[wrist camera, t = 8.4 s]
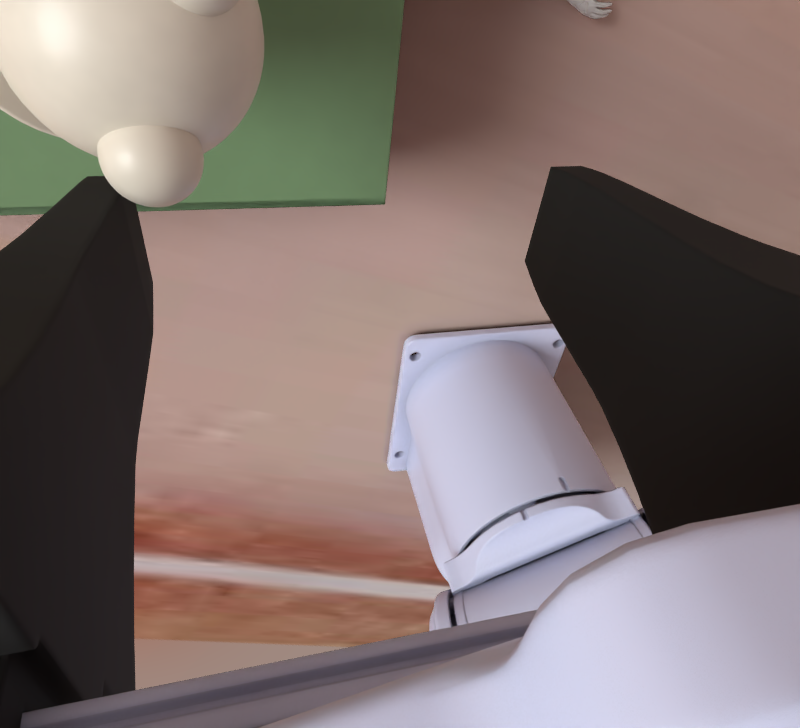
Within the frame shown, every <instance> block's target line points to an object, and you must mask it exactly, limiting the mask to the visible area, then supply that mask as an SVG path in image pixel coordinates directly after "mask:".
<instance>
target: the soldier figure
mask: <svg viewBox="0 0 800 728" xmlns="http://www.w3.org/2000/svg"><path fill="white" fill-rule="evenodd" d="M567 1H568V2H569V3H570V4H571V5H573V6H574V7H576V9H577V10H578V11H579V12H580V13H581V14H582V15H586V16H587V17H590V18H592V19H598V18H602V17H606V16H608V13H610V12H611V11H612V10H611V9H600V8H604V7H608V6H611V5H612V3H611V2H598V1H597V0H567ZM598 7H600V8H598Z"/></svg>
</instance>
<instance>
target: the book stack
mask: <svg viewBox="0 0 800 728" xmlns="http://www.w3.org/2000/svg"><path fill="white" fill-rule="evenodd" d="M258 4H259V8H260V12H261V17H262V24H263V32H264V61H263V69H262V74H261V79H260V83H259V86H258V89H257V92H256V95H255V97H254V99H253V101H252V104H251V106H250V108H249V109H248V111H247V113H246V114H245V116H244V118H243V119H242V121H241V122H240V123H239V124H238V126H237V127H236V128H235V129H234V130H233V131H232V132H231V133H230V134H229V135H228V136H227V137H226V139H224V140H223V141H222V142H220V143H219V144H218V145H217V146H215V147H214V148H212V149H211V150H209V151H207V152H206V153H204V168H203V173H202V176H201V179H200V181H199V183H198V185H197V187H196V188H195V189H194V191H193V192H192V193H191V194H190V195H189V196H188V197H187V198H185V199H184V200H182V201H180V202H178V203H176V204H174V205H171V206H166V207H147V206H143V205H139V204H136V207H137V211H171V210H206V209H241V208H275V207H310V206H345V205H380V204H385V198H386V188H387V177H388V167H389V157H390V146H391V136H392V125H393V115H394V104H395V94H396V84H397V73H398V63H399V52H400V42H401V32H402V21H403V11H404V0H258ZM87 176H104V174H103V172H102V170H101V167H100V164H99V160H98V157H96V156H94V155H91V154H89V153H87V152H85V151H83V150H81V149H79V148H77V147H75V146H73V145H72V144H70V143H68V142H67V141H65V140H64V139H62V138H60V137H56V136H53V135H50V134H47V133H44V132H42V131H39V130H37V129H34V128H32V127H30V126H28V125H26V124H24V123H22V122H20V121H18V120H17V119H15V118H13V117H12V116H10V115H8V114H7V113H5V112H4V111H2V110H1V109H0V215H32V214H45V213H46V212H47V211H49V210H50V209H51V208H52V207H53V206H54V205H55V204H56V203H57V202H59V201H60V200H61V199H62V198H63V197H64V196H65V195H66V194H67V193H68V192H69V191H70V190H72V189H73V188H74V187H75V186H76V185H77V184H78V183H79V182H81V181H82V180H83V179H84V178H86V177H87Z"/></svg>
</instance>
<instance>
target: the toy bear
mask: <svg viewBox="0 0 800 728" xmlns="http://www.w3.org/2000/svg"><path fill="white" fill-rule="evenodd" d="M263 61H264V32H263V24H262V17H261V12H260V8H259V4H258V0H0V109H1V110H2V111H4V112H5V113H7V114H8V115H10V116H12V117H13V118H15V119H17V120H18V121H20V122H22V123H24V124H26V125H28V126H30V127H32V128H34V129H37V130H39V131H42V132H44V133H47V134H50V135H53V136H56V137H60V138H62V139H64V140H65V141H67V142H68V143H70V144H72V145H73V146H75V147H77V148H79V149H81V150H83V151H85V152H87V153H89V154H91V155H94V156H96V157H98V160H99V164H100V167H101V170H102V172H103V174H104V176H105V178H106V179H107V181H108V182H109V183H110V185H111V186H112V187H113V188H114V189H115V190H116V191H117V192H118V193H119V194H121V195H122V196H123V197H125V198H126V199H128V200H130V201H132V202H134V203H136V204H139V205H143V206H147V207H166V206H171V205H174V204H176V203H178V202H180V201H182V200H184V199H185V198H187V197H188V196H189V195H190V194H191V193H192V192H193V191H194V189H195V188H196V187H197V185H198V183H199V181H200V179H201V176H202V173H203V168H204V153H206V152H207V151H209V150H211V149H212V148H214V147H215V146H217V145H218V144H219V143H220V142H222V141H223V140H224V139H226V137H227V136H228V135H229V134H230V133H231V132H232V131H233V130H234V129H235V128H236V127H237V126H238V124H239V123H240V122H241V121H242V119H243V118H244V116H245V114H246V113H247V111H248V109H249V108H250V106H251V104H252V101H253V99H254V97H255V95H256V92H257V89H258V86H259V83H260V79H261V74H262V69H263Z"/></svg>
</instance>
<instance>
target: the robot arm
mask: <svg viewBox="0 0 800 728" xmlns="http://www.w3.org/2000/svg"><path fill="white" fill-rule="evenodd" d="M525 263H526V266H527V268H528V271H529V274H530V277H531V279H532V282H533V285H534V287H535V290H536V292H537V294H538V297H539V299H540V302H541V304H542V306H543V307H544V309H545V311H546V313H547V314H548V316H549V318H550V320H551V321H552V323H553V324H541V325H528V326H516V327H504V328H491V329H479V330H467V331H454V332H442V333H430V334H418V335H412V336H410V337H408V338H407V339H406V340H405V342H404V346H403V353H402V360H401V367H400V374H399V381H398V388H397V395H396V402H395V409H394V416H393V423H392V430H391V437H390V444H389V451H388V458H387V465H388V469H389V470H391V471H402V470H407V472H408V475H409V479H410V482H411V485H412V489H413V492H414V495H415V499H416V502H417V505H418V509H419V512H420V515H421V518H422V522H423V525H424V528H425V532H426V535H427V538H428V542H429V545H430V548H431V552H432V555H433V558H434V561H435V563H436V565H437V567H438V569H439V571H440V572H441V574H442V575H443V577H444V578H445V579H446V580H447V581H448V582H449V585H450V588H451V589H450V590H446V591H443V592H441V593H439V594H438V595H437V597H436V599H435V602H434V608H433V611H432V614H431V617H430V631H428V632H423V633H418V634H413V635H408V636H403V637H398V638H393V639H388V640H383V641H378V642H373V643H368V644H363V645H358V646H353V647H348V648H343V649H339V650H334V651H329V652H324V653H319V654H314V655H309V656H304V657H299V658H294V659H289V660H284V661H279V662H274V663H269V664H264V665H259V666H254V667H249V668H244V669H239V670H234V671H229V672H224V673H219V674H214V675H209V676H204V677H199V678H194V679H189V680H184V681H179V682H174V683H169V684H164V685H159V686H154V687H149V688H144V689H139V690H135V654H134V504H135V464H136V453H137V442H138V434H139V428H140V421H141V414H142V407H143V400H144V394H145V387H146V380H147V373H148V366H149V359H150V352H151V345H152V337H153V281H152V276H151V272H150V267H149V262H148V258H147V253H146V249H145V244H144V239H143V235H142V230H141V225H140V221H139V216H138V212H137V207H136V203H134V202H132V201H130V200H128V199H126V198H125V197H123V196H122V195H121V194H119V193H118V192H117V191H116V190H115V189H114V188H113V187H112V186H111V185H110V183H109V182H108V181H107V179H106V178H105V176H87V177H86V178H84V179H83V180H82V181H81V182H79V183H78V184H77V185H76V186H75V187H74V188H73V189H72V190H70V191H69V192H68V193H67V194H66V195H65V196H64V197H63V198H62V199H61V200H60V201H59V202H57V203H56V204H55V205H54V206H53V207H52V208H51V209H50V210H49V211H47V212H46V213H45V214H44V215H43V216H42V217H41V218H40V219H38V220H37V221H36V222H35V223H34V224H33V225H32V226H31V227H29V228H28V229H27V230H26V231H25V232H24V233H23V234H21V235H20V236H19V237H18V238H16V239H15V240H14V241H12V242H11V243H10V244H9V245H7V246H6V247H5V248H3V249H2V250H1V251H0V728H800V256H799V255H796V254H793V253H791V252H788V251H785V250H782V249H779V248H776V247H773V246H770V245H767V244H764V243H761V242H758V241H756V240H753V239H750V238H748V237H745V236H743V235H740V234H738V233H735V232H733V231H730V230H728V229H726V228H723V227H721V226H718V225H716V224H714V223H711V222H709V221H707V220H704V219H702V218H700V217H698V216H695V215H693V214H691V213H689V212H687V211H684V210H682V209H680V208H678V207H676V206H674V205H671V204H669V203H667V202H665V201H663V200H661V199H659V198H657V197H655V196H652V195H650V194H648V193H646V192H644V191H642V190H640V189H638V188H635V187H633V186H631V185H629V184H627V183H625V182H622V181H620V180H618V179H616V178H613V177H611V176H609V175H606V174H604V173H601V172H599V171H596V170H593V169H590V168H586V167H582V166H565V167H551V168H550V172H549V176H548V179H547V183H546V186H545V190H544V194H543V197H542V201H541V205H540V208H539V212H538V215H537V219H536V223H535V226H534V230H533V233H532V237H531V241H530V244H529V248H528V251H527V255H526V259H525ZM557 340H558V341H557ZM555 341H556V342H555ZM565 346H566V347H567V348H568V350H569V352H570V353H571V355H572V357H573V358H574V360H575V362H576V363H577V365H578V367H579V368H580V370H581V372H582V373H583V375H584V377H585V378H586V380H587V382H588V383H589V385H590V387H591V388H592V390H593V392H594V394H595V396H596V398H597V400H598V401H599V403H600V405H601V407H602V409H603V411H604V414H605V416H606V418H607V420H608V423H609V425H610V427H611V429H612V432H613V434H614V436H615V438H616V441H617V443H618V445H619V447H620V450H621V452H622V455H623V457H624V460H625V462H626V465H627V467H628V470H629V472H630V475H631V477H632V480H633V482H634V485H635V487H636V490H637V492H638V495H639V498H640V501H641V504H642V507H643V508H641V509H640V510H637V508H636V506H635V504H634V503H633V501H632V499H631V498H630V496H629V494H628V493H627V491H626V489H625V488H624V487H619V488H616V487H615V485H614V484H613V482H612V480H611V478H610V477H609V475H608V473H607V472H606V470H605V468H604V466H603V465H602V463H601V461H600V459H599V458H598V456H597V454H596V452H595V451H594V449H593V447H592V445H591V444H590V442H589V440H588V438H587V437H586V435H585V433H584V431H583V430H582V428H581V426H580V424H579V423H578V421H577V419H576V417H575V416H574V414H573V412H572V410H571V409H570V407H569V405H568V403H567V402H566V400H565V398H564V396H563V395H562V393H561V391H560V390H559V388H558V386H557V384H556V383H555V381H554V379H553V378H554V375H555V372H556V370H557V367H558V365H559V362H560V359H561V357H562V354H563V352H564V349H565ZM415 352H418V353H416V354H414V355H411V354H413V353H415Z"/></svg>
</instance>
